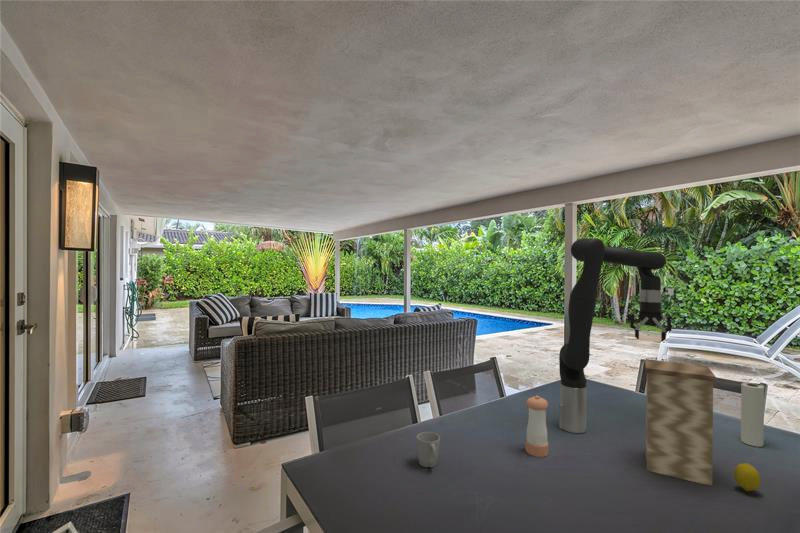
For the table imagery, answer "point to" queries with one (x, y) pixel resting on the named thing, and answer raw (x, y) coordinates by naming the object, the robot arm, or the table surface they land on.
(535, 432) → the pepper shaker
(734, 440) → the table surface
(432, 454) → the cup
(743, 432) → the paper towel roll
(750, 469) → the lemon
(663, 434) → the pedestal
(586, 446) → the table surface
